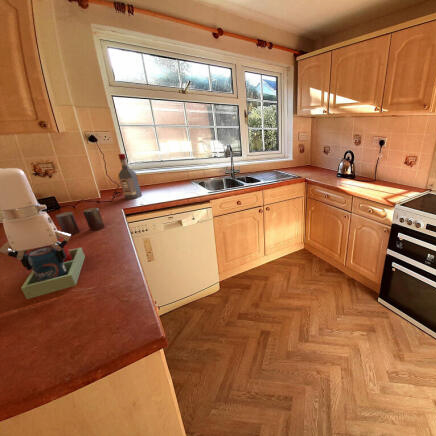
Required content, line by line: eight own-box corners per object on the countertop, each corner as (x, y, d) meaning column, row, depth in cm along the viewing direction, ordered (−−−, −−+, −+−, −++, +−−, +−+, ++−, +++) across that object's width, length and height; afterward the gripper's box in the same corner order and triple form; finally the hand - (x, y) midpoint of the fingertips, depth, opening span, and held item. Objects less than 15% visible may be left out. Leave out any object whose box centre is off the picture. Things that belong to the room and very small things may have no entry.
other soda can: (48, 275, 84) (33, 244, 79) (53, 266, 89) (39, 237, 85) (73, 269, 87) (60, 239, 83) (76, 260, 92) (64, 232, 88)
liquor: (131, 195, 178) (119, 153, 167) (143, 195, 178) (132, 153, 167) (123, 199, 170) (109, 155, 159) (135, 198, 169) (123, 154, 158)
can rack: (27, 300, 73) (20, 288, 71) (46, 266, 90) (41, 256, 88) (76, 286, 78) (71, 274, 77) (85, 257, 96) (81, 247, 94)
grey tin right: (89, 231, 119) (82, 212, 115) (90, 227, 124) (83, 209, 120) (104, 228, 122) (97, 210, 118) (105, 224, 127) (98, 206, 123)
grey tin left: (62, 237, 114) (54, 217, 110) (65, 232, 119) (57, 213, 115) (78, 233, 117) (71, 214, 113) (80, 229, 122) (73, 211, 118)
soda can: (39, 292, 75) (21, 258, 71) (44, 280, 81) (28, 249, 76) (67, 284, 79) (53, 251, 74) (71, 273, 84) (57, 243, 80)
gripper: (64, 202, 78) (83, 251, 84) (-16, 214, 69) (13, 267, 76) (58, 209, 72) (80, 261, 79) (-29, 222, 63) (3, 279, 70)
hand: (47, 263), depth 77 cm, fingers closed on soda can, 7 cm apart
